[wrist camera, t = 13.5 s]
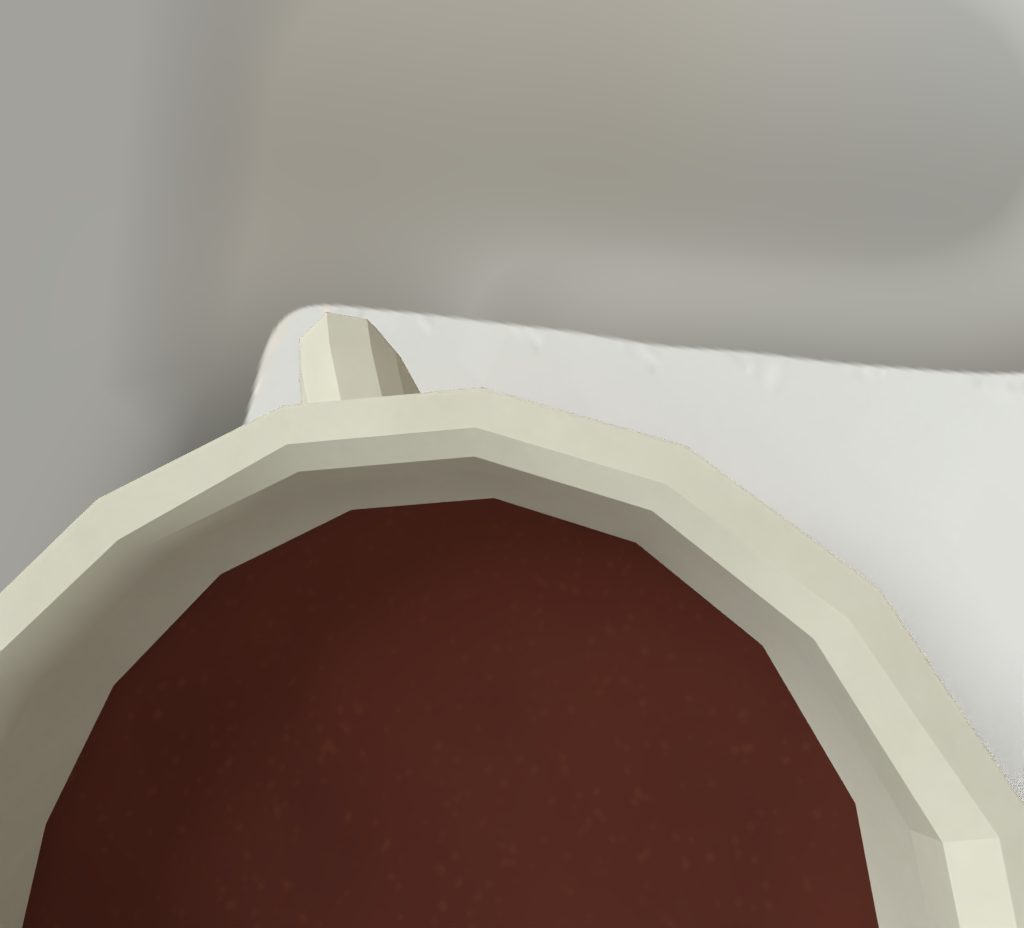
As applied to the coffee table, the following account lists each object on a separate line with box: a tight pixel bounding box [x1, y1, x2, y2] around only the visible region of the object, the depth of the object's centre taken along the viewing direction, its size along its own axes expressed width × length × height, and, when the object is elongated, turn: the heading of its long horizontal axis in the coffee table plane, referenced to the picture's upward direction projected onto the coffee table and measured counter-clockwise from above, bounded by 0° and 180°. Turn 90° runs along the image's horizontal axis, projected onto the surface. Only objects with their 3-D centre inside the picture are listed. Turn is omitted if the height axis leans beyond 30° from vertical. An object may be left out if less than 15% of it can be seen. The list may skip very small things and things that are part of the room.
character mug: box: [0, 312, 1024, 928], centre depth 10 cm, size 11×7×13 cm, turn 15°
